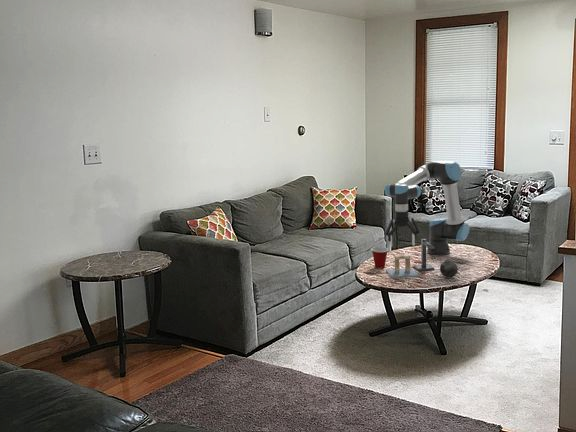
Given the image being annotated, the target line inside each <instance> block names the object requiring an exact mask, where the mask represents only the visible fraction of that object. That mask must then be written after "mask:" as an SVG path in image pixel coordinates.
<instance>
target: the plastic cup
mask: <svg viewBox="0 0 576 432" xmlns="http://www.w3.org/2000/svg"><path fill="white" fill-rule="evenodd" d="M371 251H372V252H371V253H372V257H373V262H374V267H375V268H376V269H384V268H385V266H386V261H387V255H388V253H389V252H388V251H389V248H387V247H384V246H374V247H371Z"/></svg>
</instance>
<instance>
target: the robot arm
mask: <svg viewBox="0 0 576 432" xmlns="http://www.w3.org/2000/svg"><path fill="white" fill-rule="evenodd" d="M461 174H462V168H461V165H460V164H459V163H458V162H456V161H448V160H447V161H444V160H440V161H439V160H435V161H434V160H433V161H430V162H428V163H425V164H423V165H421V166H418V168H417V170H416V171H413V172H412V173H410V174H408V175H407V176H406V177H403V178H402V179H400V180H399V181H396V182H395V183H390V184H386V185H385V186H384V195H385V196H387V197H390V198H395V199H394V200H395V201H394V204H395V206H394V208H395V219H392V218H390V219H389V224H388V225H387V228H386V230H385V233H384V235H386V236H388V237H387V242H389V246H390V248H393V234H394V233H395V231H396V230H397V229H398V228H400V227H407V228H408V230H410V231H411V233H412V234H411V240H412V241H411V243H412V244H411V245H412V246H415V245H416V242H415V241H416V240H417V234H420V231H419V227H417V225H416V223H415V219H414V218H413V217H410V218H409V200H412V199H416V198H419V197H420V196H421V194H422V188H421V187H420V186H419V185H418V184H420V183H422V182H426V181H428V180H439V184H440V185H441V186H442V188H443V194H444V202H445V209H446V215H447V218H445V217H444V218H435V219H431V220H429V242H428V243H430V244H431V245H433V246H434V247H435V249H434V250H431V249H430V248H428V247H426V254H429V255H433V256H445V255H450V253H451V248H450V246H449V243H448V240H452V241H461V242H463V241H465V240H466V239H467V238H468V236H469V233H470V225H469V224H468V223H466V222H465V219H464V218H463V217H462V212H461V207H460V206H461V204H460V198H459V191H458V185H457V184H458V183H459V180H460V179H461V177H462V175H461ZM409 222H410V223H411V225H412V226H413V228H414V229H413V228H412V227H411V226H410V225H409ZM394 223H395V224H394ZM393 224H394V226H393Z"/></svg>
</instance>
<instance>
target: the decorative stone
mask: <svg viewBox="0 0 576 432" xmlns="http://www.w3.org/2000/svg"><path fill="white" fill-rule="evenodd" d="M439 267H440V268H439V271H440V273H441V275H442V276H443V277H445V278H454V277H455V276H456V275H457V273H458V265H457V263H456V262H455V261H453V260H445V261H443V262H442V263H441V264H440V266H439Z"/></svg>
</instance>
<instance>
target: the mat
mask: <svg viewBox="0 0 576 432" xmlns="http://www.w3.org/2000/svg"><path fill="white" fill-rule="evenodd" d="M385 272H386V273H387V275H389V276H390V277H391V279H405V278H407V279H408V278H418V277H419V278H420V274H419V273H418V272H416V271H415V270H414V269H413V268H412V267H410V273H407V272H406V271H405V268H399V274H397V273H395V268H394V269H393V268H392V269H385Z"/></svg>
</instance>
